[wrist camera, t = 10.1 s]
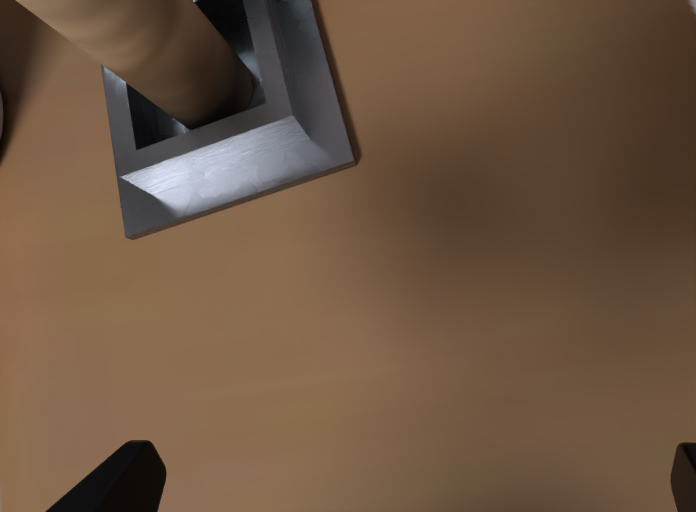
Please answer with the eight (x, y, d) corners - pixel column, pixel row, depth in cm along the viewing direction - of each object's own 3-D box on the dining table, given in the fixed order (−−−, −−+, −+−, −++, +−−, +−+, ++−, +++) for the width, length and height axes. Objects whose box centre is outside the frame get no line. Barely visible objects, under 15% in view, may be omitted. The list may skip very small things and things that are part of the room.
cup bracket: (356, 165, 25) (295, 58, 17) (132, 240, 27) (-25, 178, 19) (301, -37, 28) (225, -214, 20) (103, 43, 30) (-43, -87, 22)
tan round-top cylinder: (213, 155, 27) (-42, -28, 13) (153, 103, 28) (-132, -109, 15) (274, 81, 26) (75, -176, 13) (210, 32, 28) (-27, -245, 15)
